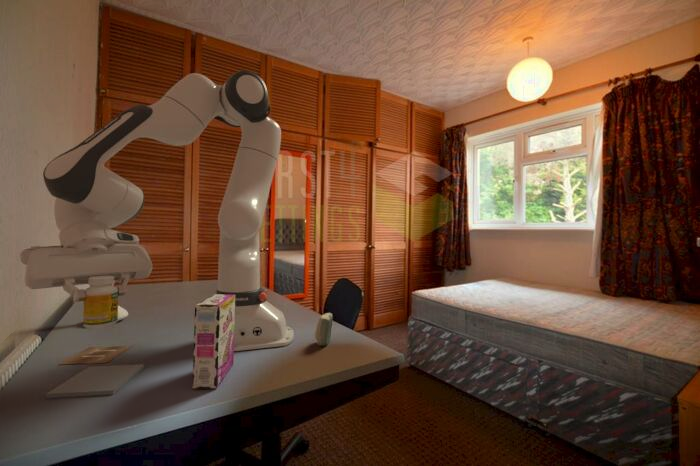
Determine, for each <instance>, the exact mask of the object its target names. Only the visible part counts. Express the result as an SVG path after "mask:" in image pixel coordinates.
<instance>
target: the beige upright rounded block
mask: <svg viewBox="0 0 700 466" xmlns="http://www.w3.org/2000/svg"><path fill="white" fill-rule="evenodd" d="M333 317H334V316H333V313H331V312H326V313H324V314H322V315H321V316H320V317H319V319H318V322H317V324H316V328H315V332H314V337H315V340H316V342H317V343H316V345H317V346H318V347H321V348H326V347H327V346H328V345H329V343H330V342H331V337H332V327H333Z"/></svg>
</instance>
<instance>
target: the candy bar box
mask: <svg viewBox="0 0 700 466" xmlns="http://www.w3.org/2000/svg"><path fill="white" fill-rule="evenodd" d="M235 296H236V295H233V294H216V293H215V294H213V295H211V296H210V297H208V298H207V299H204V300H203V301H200V302H198V303H197V304H195V305H194V322H193V323H194V331H193V332H194V333H193V360H192V363H193V364H192V390H215V389H218V388H219V386H220V385H221V382H222V381H223V380H224V378H225V377H226V375H227V374H228V373H229V371H230V369H231V368H232V367H233V366H234V359H235V357H234V356H235V351H234V325H235Z"/></svg>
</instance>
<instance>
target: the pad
mask: <svg viewBox="0 0 700 466" xmlns="http://www.w3.org/2000/svg"><path fill="white" fill-rule="evenodd" d="M145 366H146V365H145V364H141V363H140V364H120V365H119V364H118V365H99V366H98V365H96V366H88V367H86V368H85V369H84V370H82V371H80V372H78V373H77V374H75V375H74V376H72V377H70V378H69V379H68V380H65V381H64V382H63V383H61V384H60V385H58V386H56V387H54V388H53V389H52V390H50V391H48V392H47V393H46V394H45V395H46V397H45V398H46V399H55V398H56V399H57V398H58V399H59V398H72V397H73V398H75V397H88V396H89V397H90V396H91V397H92V396H94V397H95V396H108V395H109V396H111V395H115V394H116V393H117V392H118V391H119V390H120V389H122V388H123V387H124V386H126V384H128V383H129V382H130V381H131V380H132V379H133V378H135V377H136V376H137V375H138V374H139V373H140V372H142V371H143V370H144V369H145Z"/></svg>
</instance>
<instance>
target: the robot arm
mask: <svg viewBox="0 0 700 466" xmlns="http://www.w3.org/2000/svg"><path fill="white" fill-rule="evenodd" d="M271 111H272V110H271V106H270V100H269V93H268V89H267V86H266V83H265V81H264V80H263V78H262V77H260V75H258V74H257V73H255V72H253V71H250V70H240V71H236V72H234V73H233V74H230V76H229V77H228V78H227V79H226V81H225V82H224V84H217V83H215V82H213V80H211V79H210V78H208V77H207V76H206V75H203V74H202V73H197V72H193V73H189V74H186V76H184V77H183V78H182V79H180V80H179V81H178V82H176V83H175V84H174V85H173V86H172V87H170V89H169V90H168V91H166V93H164V95H163V96H162V97H161V98H160V99H159V100H158V101H156V102H154V103H152V104H149V105H145V104H136V105H133V106H131V107H129V108H127V109H125V110H124V111H122V112H120V113H119V114H118V115H116V116H115V117H113V118H112V119H111V120H110V121H108V122H107V123H105V124H104V125H103V126H102V127H100V128H98V130H96V131H94V132H93V133H92V134H91V135H89V136H88V137H87V138H85V139H84V140H83V141H81V142H80V143H79V144H77V145H76V146H74V147H72V148H70V149H69V150H67V151H65V152H63V153H61V154H59V155H58V156H56V157H54V158H53V159H52V160H51V161H50V162H48V164H46V166H45V168H44V170H43V174H42V177H43V182H44V184H45V187H46V188H47V191H48V192H49V194H50V196H53V197H54V198H55V201H54V206H53V211H54V220H55V224H56V227H57V229H58V230H59V234H58V237H59V244H60V245H46V246H40V245H37V246H36V245H35V246H30V247H29V248H26V249H24V250H22V251H21V252H20V253H19V256H20V262H21V263H22V264H24V265H25V266H26V269H25V275H24V276H25V277H24V281H25V282H24V285H25V286H26V287H27V288H29V289H31V290H39V289H50V288H51V289H52V288H59V287H60V288H61V287H62V290H63V291H64V292H66V293H67V294H69V295H70V296H72V298H73V302H74V303H78V302H79V303H80V302H84V301H85V298H86V294H85V290H86V289H85V288H83V289H80V288H78V287H77V286H79V285H81V286H82V285H89V284H88V279H89V278H90V277H96V276H114V281H115V282H118V283H119V285H117V286H116V287H117V288H118V297H124V296H127V294H128V288H127V285H128V282H129V281H132V280H139V279H147V278H148V277H149V276H150V275H151V273H152V270H153V268H154V267H153V262H152V260H151V257H150V256H149V253H148V252H147V250H146V249H145V247H144V246H142V245H141V244H139V242H140V238H139V236H137V234H131V233H128V232H127V233H126V232H122V231H118V230H114V229H115V228H117V227H120V226H122V225H124V224H126V223H129V222H130V221H132V220H134V219H135V218H137V217H138V216H139V215H140V214H141V213H142V210H143V209H144V205H145V194H144V192H143V189H142V188H140V187H139V186H137V185H135V183H132V182H131V181H129V180H127V178H124V177H122V176H120V175H119V174H117V173H115V172H114V171H112V170H110V168H108V167H105V164H106V162H107V161H109V160H110V159H111V158H112V157H114V156H115V155H116V154H117V153H118V152H120V151H121V150H122V149H123V148H124V147H126V146H127V145H128V144H130V143H131V142H132V141H134V140H136V139H141V138H145V139H146V138H147V139H152V140H155V141H158V142H161V143H164V144H167V145H171V146H174V147H175V146H176V147H178V146H179V147H181V146H182V147H183V146H187V145H190V144H192V143H194V142H195V141H196V140H197V139H198V138H199V137H200V135H201V134H202V133H203V132H204V131H205V129H206V128H207V126H208V125H209V124H210V123H211V121H213V120H214V119H215V120H216V121H219V122H222V123H224V125H226V126H230V127H232V128H240V130H241V138H240V139H241V140H240V142H239V144H238V145H239V146H238V148H237V152H236V157H235V159H234V163H233V167H232V170H231V174H230V178H229V180H228V183H227V185H226V188H225V191H224V192H225V193H224V196H223V199H222V201H221V205H220V208H219V212H218V215H217V226H218V227H219V245H218V246H219V250H218V271H217V272H218V273H217V277H218V278H217V289H216V292H215V294H233V295H236V296H235V325H234V352H238V351H239V352H240V351H246V350H247V351H248V350H257V349H265V348H266V349H267V348H269V349H270V348H274V347H275V348H276V347H277V348H278V347H285V346H288V345H289V344H291V343H292V341H293V340H294V337H295V335H294V334H295V333H294V330H293V328H291V327H289V326H287V322H286V318H285V315H284V313H283V311H282V310H280V309H278V308H277V307H275V306H274V304H273V305H272V304H271V303H270V302H268V301H267V299H268V298H267V297H268V292H267V289H263V288H262V287H260V282H261V280H260V279H261V276H260V275H261V268H260V267H261V256H260V253H261V252H260V231H261V227H262V225H263V220H264V216H265V212H266V208H267V204H268V199H269V194H270V190H271V186H272V183H273V178H274V174H275V171H276V167H277V163H278V160H279V157H280V150H281V143H282V129H281V127H280V125H279V124H278V123H277V121H275V120H274V119H272V118H271V117H269V116H270V114H271Z"/></svg>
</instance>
